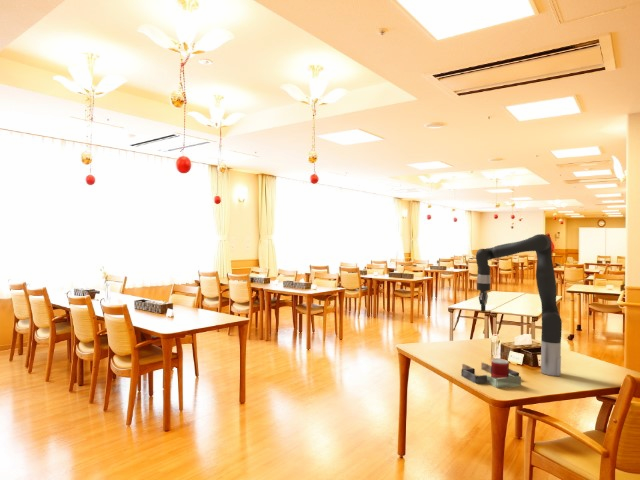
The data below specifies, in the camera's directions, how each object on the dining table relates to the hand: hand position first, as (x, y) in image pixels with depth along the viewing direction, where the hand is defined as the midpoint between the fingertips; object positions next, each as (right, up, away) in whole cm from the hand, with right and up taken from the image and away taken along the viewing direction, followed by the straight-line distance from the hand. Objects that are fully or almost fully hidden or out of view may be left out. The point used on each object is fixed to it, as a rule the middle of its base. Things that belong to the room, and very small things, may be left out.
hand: (483, 311), depth 251 cm
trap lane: (-9, -29, -32) cm, 44 cm away
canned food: (-7, -29, -39) cm, 49 cm away
